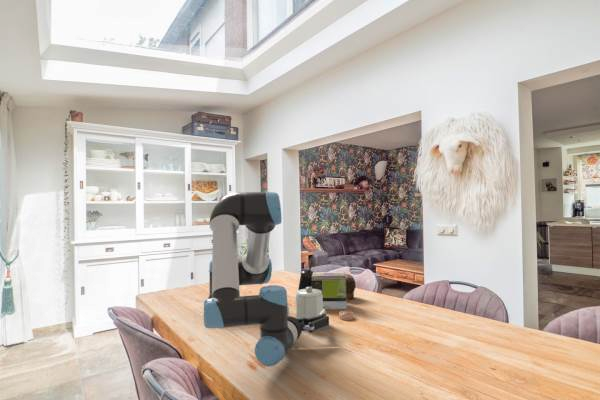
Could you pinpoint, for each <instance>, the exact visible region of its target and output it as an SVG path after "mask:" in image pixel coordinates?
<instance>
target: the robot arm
mask: <svg viewBox="0 0 600 400" xmlns="http://www.w3.org/2000/svg"><path fill="white" fill-rule="evenodd" d="M210 213H211V214H210V217H209V230H211V232H212V258H211V259H212V260H211V261H210V262H209V266H208V267H209V270H208V273H209V294H208V295H209V296H208V298H207V299H205V300H204V302H203V324H204V325H203V326H204V327H205V329H221V330H222V329H224V328H225V329H226V328H233V327H241V326H256V325H259V332H260V333H259V334H260V338H259V339H258V340H257V342H256V344H255V347H254V356H255V358H256V359H257V360H256V361H258V363H259V364H261V365H262V366H264V367H274V366H276V365H277V364H279V363H280V362H281V361H282V360H283V359H284V357H285V356H286V355H287V353H288V352H289V351H290V350H291V348H292V347H293V345H295V343H296V342H297V341H298V340H299V338H300V337H301V335H302V333H303V332H305V331H304V330H306V329H307V330H309V331H308V332H309V333H312V334H313V333H314V332H315V331H318V330H317V329H319V328H322V327H324V326H326V325H329V326H330V318H329V317H330V316H328V315H327V313H326V309H323V310H322V311H321V312H320V314H319V316H316V317H312V318H308V319H306V318H301V319H296V317H294V316H290V315H289V314H290V306H288V305H289V304H288V294H287V293H288V292H287V289H286V288H285V287H284V286H282V285H276V284H275V285H273V284H271V285H270V284H269V285H265V286H261V287H260V289H259V292H258V294H256V295H255V294H254V295H242V296H241V295H240V293H241V292H240V286H250V285H251V286H252V285H263V284H268V283H270V280H271V279H272V271H273V266H272V265H273V264H272V263H273V262H272V259H271V258H270V257H268V256H267V255H268V251H269V250H268V248H269V244H270V237H271V232H272V231H273V230H275V228H276V226H277V225H278V226H279V225H281V223H282V218H283V217H282V209H281V201H280V195H279V194H278V193H277V192H275V191H274V192H272V191H256V192H255V191H250V192H249V191H248V192H247V191H246V192H244V191H243V192H241V191H238V192H237V191H236V192H231V193H229V194H226V195H225V196H224V197H222V198H221V199H220V200H219V201H218V202H217V203H216V204H215V206H214V207H213V209H212V211H211V212H210ZM240 226H245V228H246V230H247V239H246V241H247V242H246V253H245V254H244V256H242V258H239V257H238V256H239V254H238V237H237V235H238V233H237V231H238V230H239V228H240ZM303 321H304V322H303Z"/></svg>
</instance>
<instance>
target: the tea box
mask: <svg viewBox="0 0 600 400" xmlns="http://www.w3.org/2000/svg"><path fill="white" fill-rule="evenodd" d="M345 274H346V273H345V271H325V272H324V271H323V272H322V271H321V272H319V271H318V272H317V271H316V272H315V271H313V274H312V289H318V290H321V291H322V295H323V309H325V310H347V309H348V302H347V301H348V300H347V298H346V276H345Z"/></svg>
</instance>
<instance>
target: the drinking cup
mask: <svg viewBox="0 0 600 400" xmlns="http://www.w3.org/2000/svg"><path fill="white" fill-rule="evenodd" d="M313 262H314V261H313V260H311V261H310V265H309V268H308V269H307V268H305V269H301V270H300V277H299V284H298V289H297V291H298V290H301V289H306V287H312V274H313V272H314V271H313V270H312V265H313Z"/></svg>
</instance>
